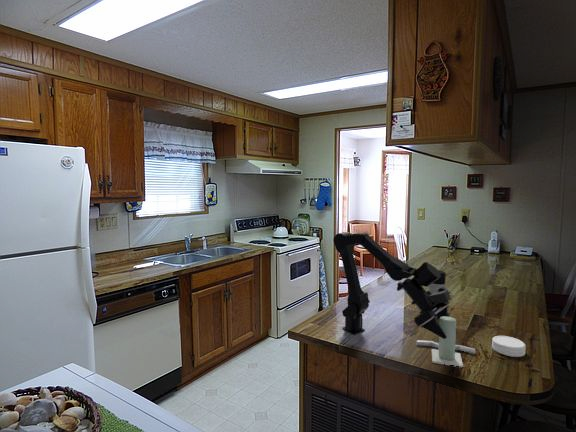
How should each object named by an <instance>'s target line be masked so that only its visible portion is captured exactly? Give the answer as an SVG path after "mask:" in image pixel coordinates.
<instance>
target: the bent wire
mask: <svg viewBox="0 0 576 432" xmlns="http://www.w3.org/2000/svg"><path fill="white" fill-rule="evenodd" d="M415 343H416V344H415V345H416V346H418V347H419V346H420V347H431V348H434V349H436V350H439V342H436V341H433V340H421V339H419V340H416V342H415ZM455 350H457V351H459V350H460V352H463V351H464V353H467V352H468V353H469V354H472V355H475V354H476V348H472V347H469V346H465V345H461V344H455ZM468 353H467V354H468Z"/></svg>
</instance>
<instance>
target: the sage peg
mask: <svg viewBox="0 0 576 432" xmlns="http://www.w3.org/2000/svg"><path fill="white" fill-rule="evenodd" d="M438 324H439V325H440V327H441V328H442V330H443V331H444V333H445V335H446V336H447V338H445V339H443V338H441V337H440V336H438V343H439V349H438V350H439V352H438V356H439V357H440V358H441V359H443V360H448V361H452V360H454V359H455V353H456V351H455V345H456V337H457V336H456V335H457V319H456V318H455V317H451V316H450V317H447V316H442V317H440V320H439V323H438Z"/></svg>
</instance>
